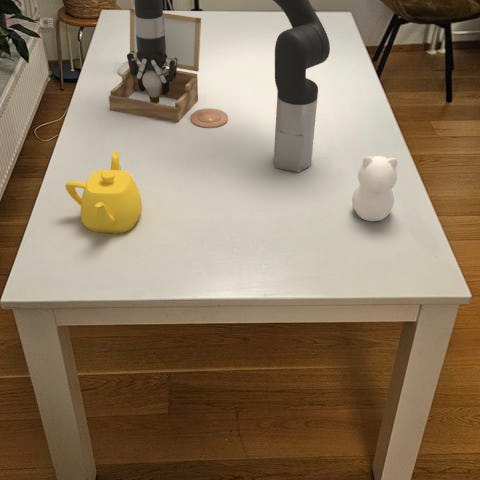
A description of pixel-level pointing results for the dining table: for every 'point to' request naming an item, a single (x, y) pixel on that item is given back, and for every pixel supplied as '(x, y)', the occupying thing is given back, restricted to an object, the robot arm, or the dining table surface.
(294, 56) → the robot arm
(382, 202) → the cat figurine
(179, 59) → the lid
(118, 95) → the cold frame
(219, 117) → the saucer
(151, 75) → the light bulb
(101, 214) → the teapot
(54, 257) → the dining table surface
